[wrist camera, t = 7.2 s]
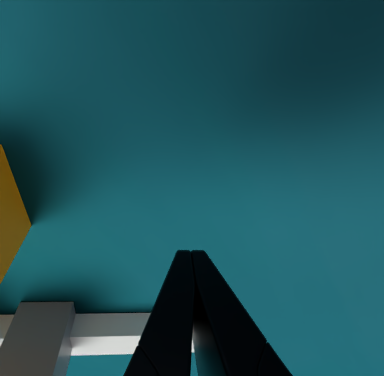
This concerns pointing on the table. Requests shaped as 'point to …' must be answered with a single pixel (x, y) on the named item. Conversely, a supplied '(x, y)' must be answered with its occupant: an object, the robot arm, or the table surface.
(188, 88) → the table surface
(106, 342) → the collar track
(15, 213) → the pipe clamp
